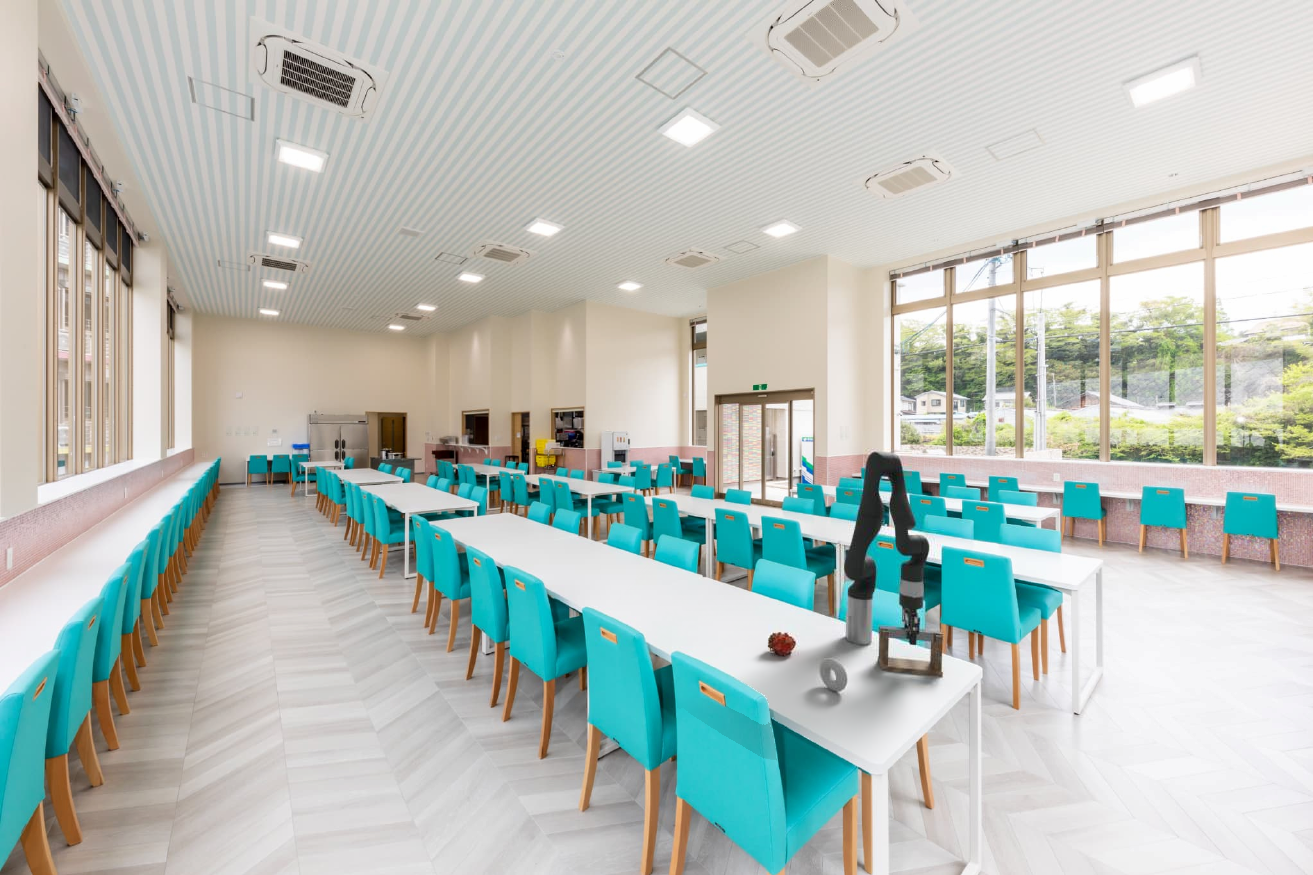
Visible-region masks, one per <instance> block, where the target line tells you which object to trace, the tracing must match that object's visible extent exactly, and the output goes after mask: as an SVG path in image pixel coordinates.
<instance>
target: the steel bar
mask: <svg viewBox="0 0 1313 875" xmlns="http://www.w3.org/2000/svg"><path fill="white" fill-rule="evenodd" d="M882 630H885V631H889V639H899V640H908V641H909V628H904V626H903V627H902V626H900V627H899V626H891V625H890V626H889V625H878V637H879V636H880V637H882ZM913 630H915V628H913ZM935 635H941V636H942V637H943V638H944V633H943V632H942V631H941V630H936V629H926V628H925V629H924V628H920V629H919V634H917V641H919V642H920V641H921V642H930V643H931V642H935ZM943 641H944V639H943V640H942V644H943V643H944V642H943Z"/></svg>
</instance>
